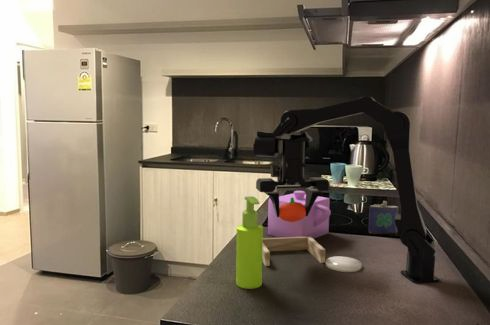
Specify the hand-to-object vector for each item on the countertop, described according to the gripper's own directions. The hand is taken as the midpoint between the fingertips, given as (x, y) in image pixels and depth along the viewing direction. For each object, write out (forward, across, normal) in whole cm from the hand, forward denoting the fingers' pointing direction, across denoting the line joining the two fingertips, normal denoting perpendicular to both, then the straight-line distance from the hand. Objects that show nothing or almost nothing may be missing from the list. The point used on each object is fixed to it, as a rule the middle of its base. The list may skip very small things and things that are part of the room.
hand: (291, 216), depth 111 cm
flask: (+12, -37, -18) cm, 43 cm away
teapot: (+12, -8, -22) cm, 26 cm away
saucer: (+11, -12, +8) cm, 18 cm away
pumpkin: (+2, 0, 0) cm, 2 cm away
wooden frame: (+11, 0, -1) cm, 11 cm away
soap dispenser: (+11, +14, +16) cm, 24 cm away
